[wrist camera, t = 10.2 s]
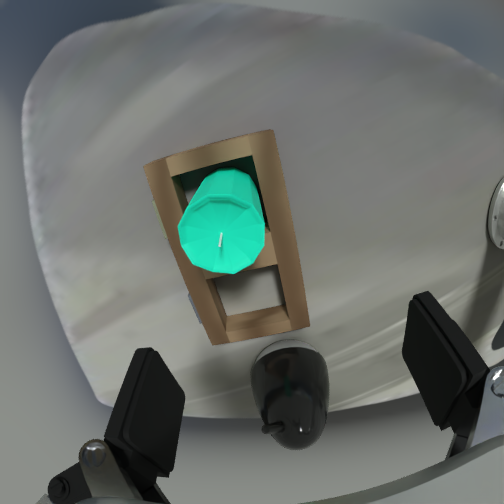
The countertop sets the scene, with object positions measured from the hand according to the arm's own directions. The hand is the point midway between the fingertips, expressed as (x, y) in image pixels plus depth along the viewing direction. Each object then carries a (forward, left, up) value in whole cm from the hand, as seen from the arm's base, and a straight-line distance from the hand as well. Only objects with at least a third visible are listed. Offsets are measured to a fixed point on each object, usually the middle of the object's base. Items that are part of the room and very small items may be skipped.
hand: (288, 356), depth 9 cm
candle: (+3, -1, -21) cm, 21 cm away
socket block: (+3, +5, -21) cm, 22 cm away
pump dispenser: (+1, +23, -21) cm, 31 cm away
